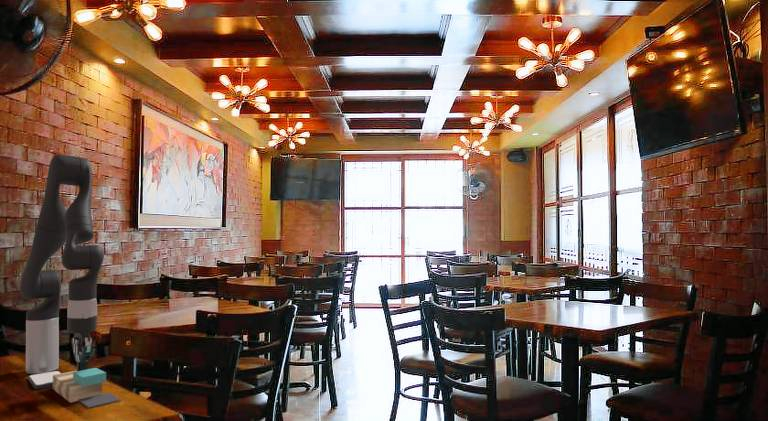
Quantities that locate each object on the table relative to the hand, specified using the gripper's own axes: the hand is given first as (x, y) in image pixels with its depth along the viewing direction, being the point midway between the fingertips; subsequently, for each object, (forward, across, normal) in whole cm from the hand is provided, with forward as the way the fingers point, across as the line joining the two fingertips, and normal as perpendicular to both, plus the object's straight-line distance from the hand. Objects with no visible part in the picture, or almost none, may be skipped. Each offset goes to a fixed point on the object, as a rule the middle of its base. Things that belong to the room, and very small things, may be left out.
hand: (81, 374), depth 153 cm
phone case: (+7, -20, -4) cm, 21 cm away
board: (+5, -1, -1) cm, 5 cm away
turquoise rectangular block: (+1, +6, 0) cm, 6 cm away
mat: (+4, +13, +1) cm, 14 cm away
